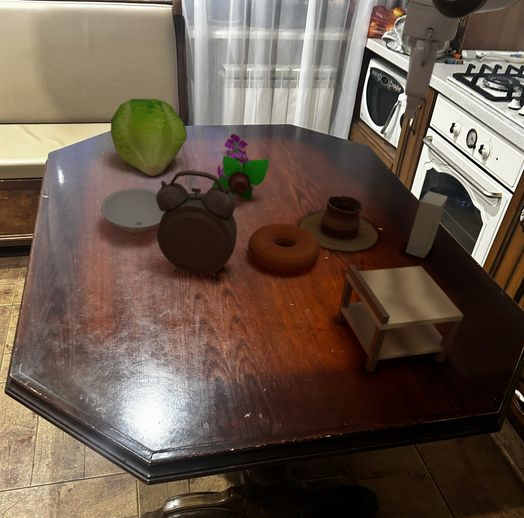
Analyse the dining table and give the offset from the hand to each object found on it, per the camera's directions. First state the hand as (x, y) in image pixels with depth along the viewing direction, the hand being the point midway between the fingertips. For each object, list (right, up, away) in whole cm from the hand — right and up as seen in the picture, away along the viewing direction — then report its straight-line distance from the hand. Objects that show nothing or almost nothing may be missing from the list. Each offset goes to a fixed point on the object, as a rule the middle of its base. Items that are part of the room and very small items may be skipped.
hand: (409, 110), depth 96 cm
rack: (-6, -43, -7) cm, 44 cm away
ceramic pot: (-10, -18, +21) cm, 29 cm away
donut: (-23, -26, +11) cm, 36 cm away
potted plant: (-35, 0, +38) cm, 51 cm away
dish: (-54, -19, +15) cm, 59 cm away
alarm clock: (-40, -29, +5) cm, 50 cm away
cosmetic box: (+7, -23, +17) cm, 30 cm away
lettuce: (-57, +4, +40) cm, 70 cm away
